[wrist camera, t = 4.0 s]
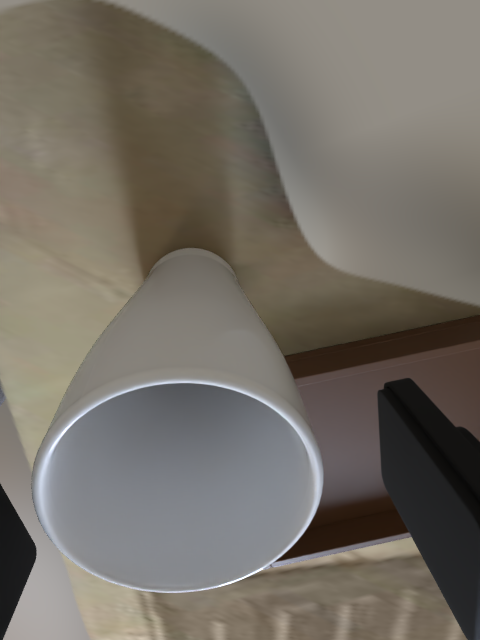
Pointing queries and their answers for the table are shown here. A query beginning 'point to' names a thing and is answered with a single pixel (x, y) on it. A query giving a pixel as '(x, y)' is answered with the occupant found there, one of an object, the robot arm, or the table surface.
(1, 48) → the table surface
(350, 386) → the tray
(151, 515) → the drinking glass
